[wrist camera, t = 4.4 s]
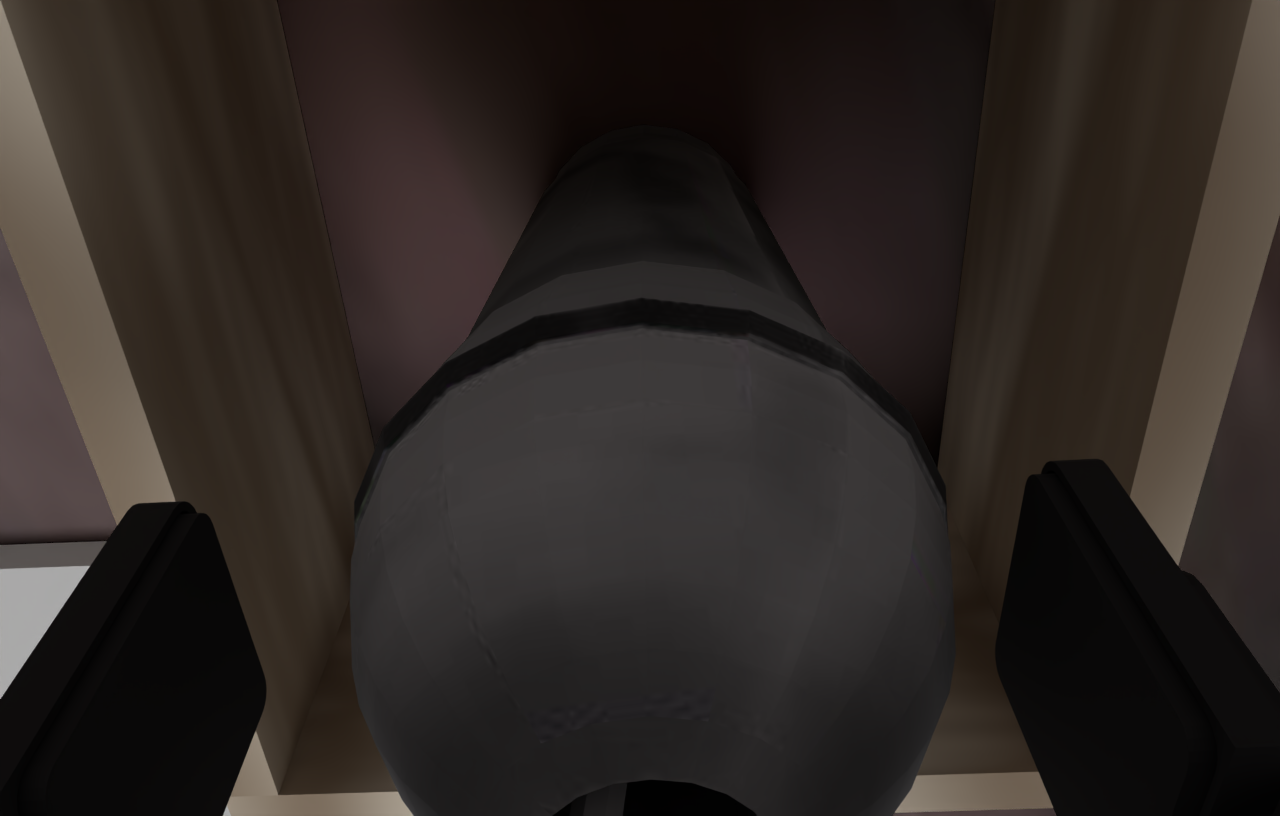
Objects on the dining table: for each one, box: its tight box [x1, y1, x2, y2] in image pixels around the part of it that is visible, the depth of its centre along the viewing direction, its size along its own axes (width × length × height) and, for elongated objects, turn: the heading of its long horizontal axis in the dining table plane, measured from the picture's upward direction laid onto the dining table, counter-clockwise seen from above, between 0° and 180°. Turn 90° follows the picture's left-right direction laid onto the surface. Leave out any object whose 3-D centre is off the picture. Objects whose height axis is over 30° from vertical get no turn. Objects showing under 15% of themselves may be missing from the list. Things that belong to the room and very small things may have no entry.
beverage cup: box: [350, 125, 956, 816], centre depth 14 cm, size 7×7×20 cm
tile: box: [0, 541, 231, 816], centre depth 30 cm, size 14×14×1 cm
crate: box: [0, 0, 1280, 816], centre depth 18 cm, size 16×16×9 cm
